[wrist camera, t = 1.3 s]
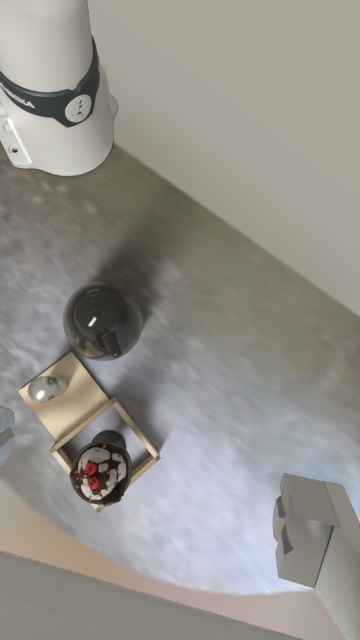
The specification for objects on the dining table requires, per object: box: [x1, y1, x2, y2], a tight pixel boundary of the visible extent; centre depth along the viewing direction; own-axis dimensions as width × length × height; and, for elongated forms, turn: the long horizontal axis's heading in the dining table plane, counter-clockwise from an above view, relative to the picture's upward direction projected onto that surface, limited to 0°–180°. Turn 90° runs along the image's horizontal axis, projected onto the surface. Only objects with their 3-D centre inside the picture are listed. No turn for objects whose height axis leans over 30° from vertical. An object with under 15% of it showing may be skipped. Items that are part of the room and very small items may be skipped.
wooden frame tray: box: [18, 352, 160, 513], centre depth 42 cm, size 19×10×8 cm, turn 38°
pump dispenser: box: [63, 282, 143, 361], centre depth 41 cm, size 10×10×15 cm
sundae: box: [69, 431, 132, 507], centre depth 39 cm, size 7×7×15 cm
